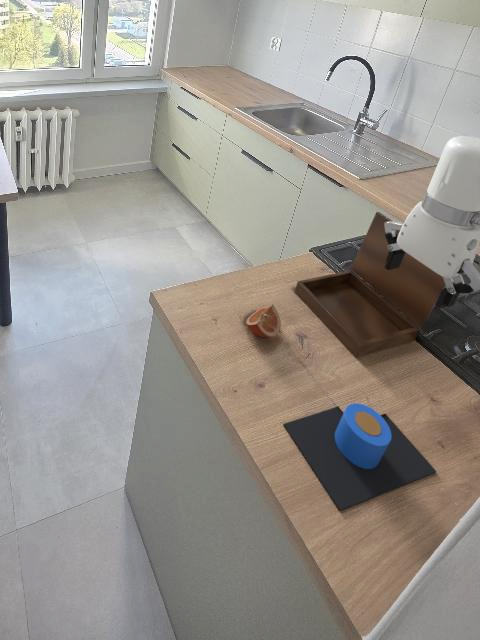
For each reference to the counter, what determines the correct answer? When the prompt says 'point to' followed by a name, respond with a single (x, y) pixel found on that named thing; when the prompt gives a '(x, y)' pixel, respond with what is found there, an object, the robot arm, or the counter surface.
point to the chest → (356, 313)
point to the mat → (344, 476)
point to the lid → (397, 275)
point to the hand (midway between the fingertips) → (415, 285)
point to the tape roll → (362, 435)
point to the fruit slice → (265, 322)
